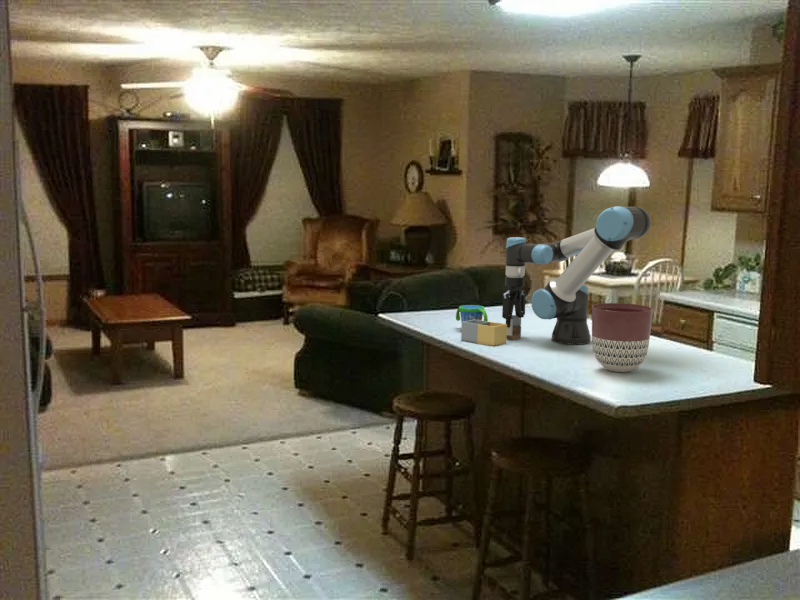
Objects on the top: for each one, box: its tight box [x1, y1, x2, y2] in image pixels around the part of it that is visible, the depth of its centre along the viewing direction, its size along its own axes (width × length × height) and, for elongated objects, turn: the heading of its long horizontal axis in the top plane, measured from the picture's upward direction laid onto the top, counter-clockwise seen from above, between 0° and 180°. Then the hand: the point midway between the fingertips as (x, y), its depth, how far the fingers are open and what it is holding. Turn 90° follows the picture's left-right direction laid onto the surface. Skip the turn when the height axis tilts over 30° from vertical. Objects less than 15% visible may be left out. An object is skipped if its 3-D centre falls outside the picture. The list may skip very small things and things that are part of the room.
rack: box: [500, 322, 522, 341], centre depth 333 cm, size 12×4×5 cm, turn 47°
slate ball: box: [511, 314, 520, 327], centre depth 330 cm, size 5×5×5 cm
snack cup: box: [455, 304, 489, 323], centre depth 347 cm, size 16×10×10 cm
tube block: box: [460, 319, 508, 347], centre depth 322 cm, size 16×8×8 cm, turn 47°
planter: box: [591, 302, 653, 373], centre depth 274 cm, size 20×20×21 cm
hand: (513, 334), depth 331 cm, fingers closed on slate ball, 5 cm apart
